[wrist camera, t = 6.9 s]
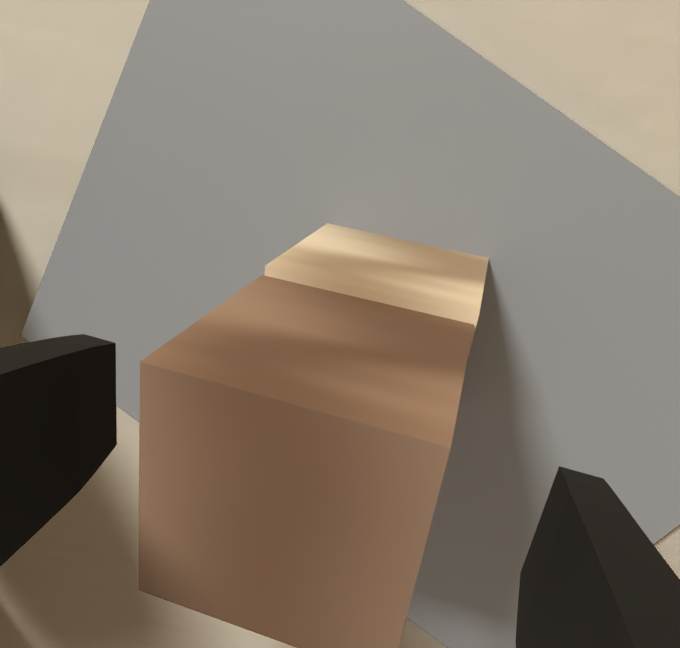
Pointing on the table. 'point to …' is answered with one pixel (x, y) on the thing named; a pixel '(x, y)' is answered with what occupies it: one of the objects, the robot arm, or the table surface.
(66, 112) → the table surface
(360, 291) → the maple block
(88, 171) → the plate
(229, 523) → the walnut block
